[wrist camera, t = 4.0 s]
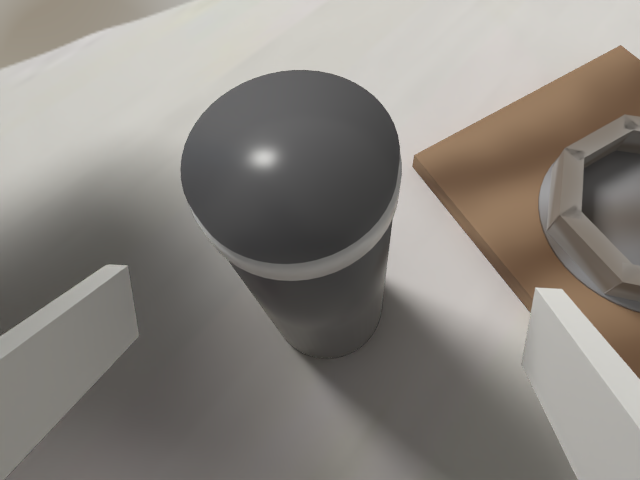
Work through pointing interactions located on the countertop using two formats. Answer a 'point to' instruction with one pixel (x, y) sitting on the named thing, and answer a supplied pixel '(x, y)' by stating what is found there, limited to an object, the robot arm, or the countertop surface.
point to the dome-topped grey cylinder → (300, 201)
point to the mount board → (513, 175)
